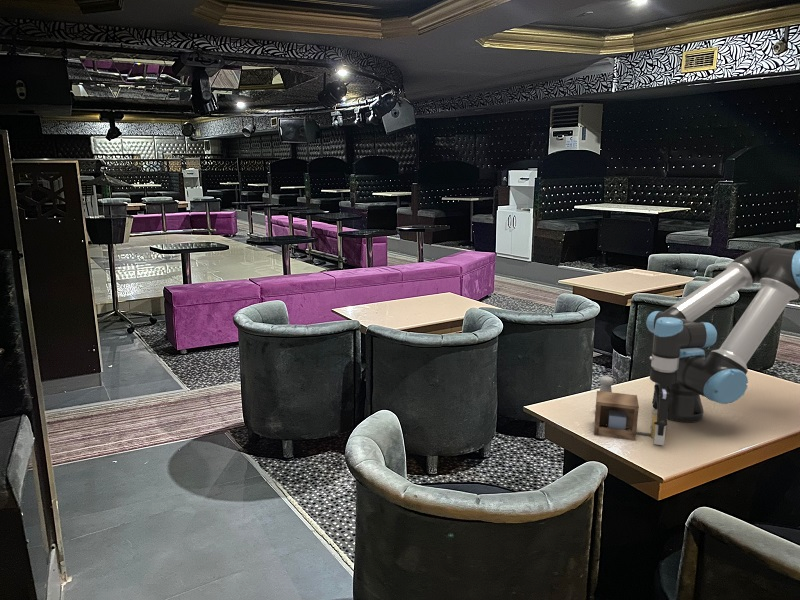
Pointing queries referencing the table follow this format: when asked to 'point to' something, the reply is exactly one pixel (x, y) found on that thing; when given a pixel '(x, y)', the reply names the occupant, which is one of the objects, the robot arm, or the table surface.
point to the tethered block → (619, 422)
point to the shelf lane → (617, 403)
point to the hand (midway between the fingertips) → (656, 436)
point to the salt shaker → (606, 383)
